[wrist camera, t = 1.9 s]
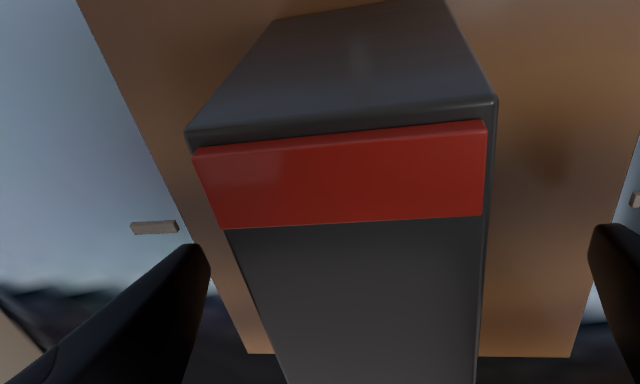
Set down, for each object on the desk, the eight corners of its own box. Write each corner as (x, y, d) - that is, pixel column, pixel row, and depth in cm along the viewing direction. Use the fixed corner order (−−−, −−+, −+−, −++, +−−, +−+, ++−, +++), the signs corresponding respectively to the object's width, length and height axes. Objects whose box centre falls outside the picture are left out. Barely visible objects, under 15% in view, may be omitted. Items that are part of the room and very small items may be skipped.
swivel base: (590, 305, 15) (624, 374, 13) (232, 309, 18) (212, 365, 16) (763, -230, 7) (931, -282, 5) (55, -64, 10) (-35, -50, 8)
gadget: (443, 331, 13) (468, 513, 9) (344, 331, 14) (329, 501, 10) (443, -9, 7) (509, 106, 3) (271, 19, 8) (168, 142, 4)
